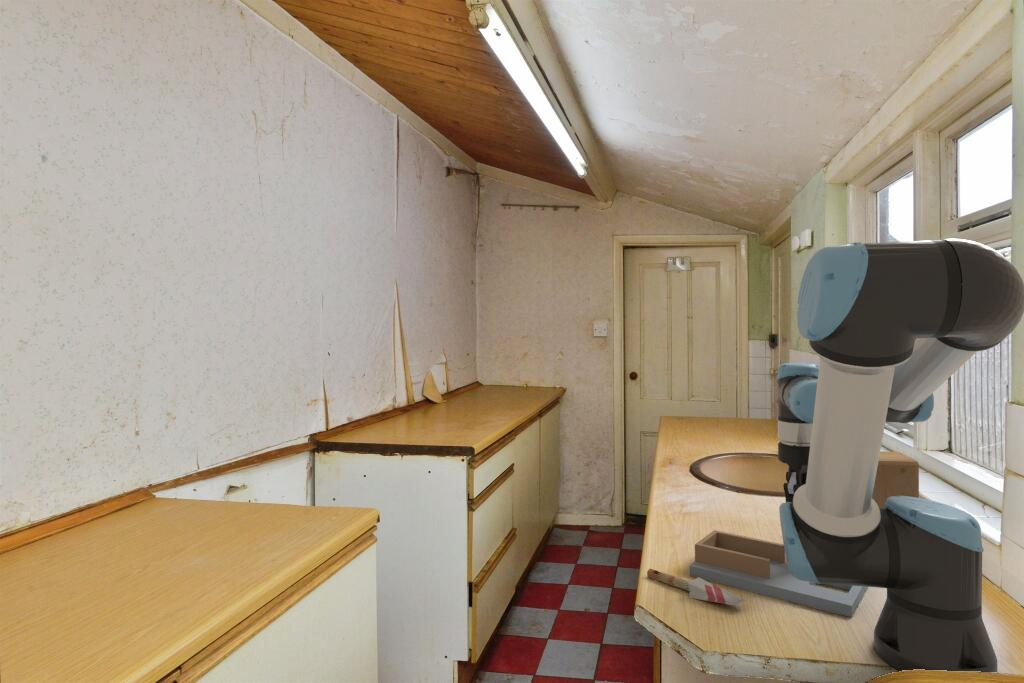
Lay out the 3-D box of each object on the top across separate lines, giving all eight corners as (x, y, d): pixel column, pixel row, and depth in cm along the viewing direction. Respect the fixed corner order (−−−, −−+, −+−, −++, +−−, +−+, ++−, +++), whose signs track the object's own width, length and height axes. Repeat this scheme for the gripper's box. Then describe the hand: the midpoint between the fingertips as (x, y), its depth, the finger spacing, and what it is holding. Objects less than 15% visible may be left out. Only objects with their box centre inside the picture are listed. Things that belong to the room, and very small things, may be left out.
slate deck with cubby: (851, 617, 104) (851, 585, 103) (689, 575, 122) (689, 548, 122) (873, 578, 119) (872, 550, 119) (726, 545, 138) (725, 521, 137)
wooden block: (921, 552, 131) (920, 460, 131) (870, 549, 133) (869, 459, 133) (901, 536, 141) (901, 450, 141) (854, 534, 143) (853, 450, 143)
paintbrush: (734, 598, 105) (643, 568, 121) (735, 614, 105) (644, 582, 121) (746, 591, 108) (655, 563, 123) (747, 607, 108) (656, 577, 123)
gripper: (811, 450, 111) (812, 577, 112) (827, 438, 121) (828, 555, 122) (768, 445, 116) (769, 567, 117) (788, 434, 126) (788, 547, 127)
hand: (799, 561), depth 119 cm, fingers closed
